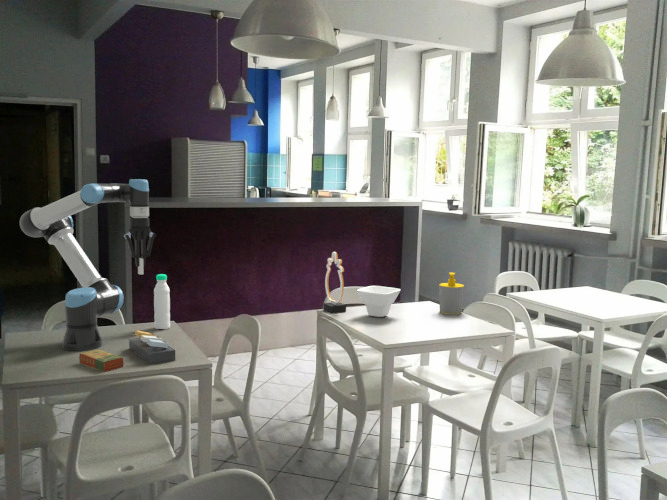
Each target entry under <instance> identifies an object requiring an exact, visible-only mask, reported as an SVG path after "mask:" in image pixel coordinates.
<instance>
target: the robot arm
mask: <svg viewBox="0 0 667 500" xmlns="http://www.w3.org/2000/svg"><path fill="white" fill-rule="evenodd" d="M149 193H150V188H149V181H148V179H141V178H138V179H137V178H135V179H133V178H130V179H129V180H128V183H116V182H115V183H113V182H111V183H94V182H93V183H87V184H85V185H83V187H82V188H81V189H80V190H78V191H77V192H74V193H72V194H70V195H67V196H64V197H63V198H60V199H59V200H56V201H54V202H51V203H49V204H47V205H45V206H42V207H33V208H31V209H29V210H27V211H25V212H24V213H23V214H22V215H21V216H20V218H19V227H20V229H21V231H22V232H23V233H24V234H25V235H26V236H28V237H31V238H44V239H45V241H47V243H48V244H49V245H50V246H51V245H52V246H54V247H55V248H56V250H57V251H58V252H59V255H60V256H61V257H62V258H63V260H64V262H65V263H66V265H67V266H68V267H69V269H70V271H71V272H72V274H73V275H74V277H75V278H76V279H77V282H79V285H80V286H81V287H78V288H74V289H71V290H69V291H68V292H67V293H65V301H64V305H65V323H66V325H65V326H66V328H65V332H64V335H63V339H62V342H61V345H62V349H63V350H64V351H70V352H72V351H73V352H81V351H82V352H83V351H92V350H96V349H98V348H100V347H102V346H103V339H102V336H101V335H102V334H101V333H100V330H99V327H98V318H99V317H102V316H105V315H106V316H107V315H110V314H111V315H112V314H113V313H115V312H118V311H119V310H120V309H121V308H122V306H123V304H124V298H125V297H124V293H123V291H122V288H121V287H119V286H118V285H115V284H111V282H110V281H109V279H108V278H104V277H102V275H101V274H100V273H99V271H98V270H97V269H96V267H95V266H94V265H93V262H92V261H91V260H90V259H89V256H88V255H87V254H86V253H85V251H84V250H83V248H82V246H81V245H80V243H79V242H78V241H77V239H76V238H75V236H74V235H73V234H74V220H73V218H72V215H73V216H74V215H76V214H78V213H80V212H82V211H84V210H87V209H88V208H91V207H94V206H96V205H98V204H102V203H103V204H105V203H106V204H107V203H129V217H130V218H129V226H130V228H129V230H128V232H126V233H124V234H123V238H124V239H125V241H126V244H127V247H128V251H129V255H130V257H131V258H134V259H135V260H134V261H135V267H137V274H138V275H144V274H145V273H144V267H146V266H147V263H146V259H147V258H149V257H151V253H152V249H153V244H154V241H155V238H156V237H157V234H156V233H154V232H152V231H151V228H150V218H149V217H150V205H149V203H150V201H149V199H150V196H149V195H150V194H149ZM148 236H149V238H148ZM131 238H133V240H134V241H133V242H134V246H133V242H132V239H131ZM147 238H148V241H147ZM146 241H147V242H146ZM146 244H147V245H146ZM146 246H147V247H146Z"/></svg>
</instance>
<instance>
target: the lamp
mask: <svg viewBox="0 0 667 500" xmlns="http://www.w3.org/2000/svg"><path fill="white" fill-rule="evenodd" d="M333 262H334V265H335V267H336V268H338V269H337V274H338V277H339V282H340V283H339V285H340V287H339V294H338V299H337V300H335V299H332V296H331V293H330V289H329V288H330V287H329V278H330V277H329V276H330V273H331V272H332V271H331V270H332V268H331V266H332V265H333ZM342 264H343V259H341V258H339V257H338V253H337V252H336V251H332V252H331V257H328V258H327V263H326V266H325V267H326V270H327V271H326V273H325V279H324V286H325V287H324V288H325V294H326V297H327V300H328V301H329V302H323V304H322V305H323V307H322V308H323V309H322V310H323V311H325V312H327V313H329V314H337V313H346V312H347V304H345V303H342V302H341V301H342V298H343V296H344V289H345V286H344V285H345V283H344V276H343V273H344V272H345V268H344V267H343V266H342Z"/></svg>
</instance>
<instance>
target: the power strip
mask: <svg viewBox="0 0 667 500" xmlns="http://www.w3.org/2000/svg"><path fill="white" fill-rule="evenodd" d="M128 341H129V342H128V345H129V348H128V349H129V350H130V351H131V352H132V353H135V354H136V355H137V356H138V357H139V358H141V359H142V360H143V361H144V362H146V363H147V364H148V365H154V364H160V363H167V362H173V361H174V362H175V361H176V349H175V348H173V347H171V346H170V345H168V348H163V347H155V346H150V345H148V344H147V342H143V341H142V340H141V337H136V338H135V337H134V338H129V339H128Z"/></svg>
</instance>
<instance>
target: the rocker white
mask: <svg viewBox="0 0 667 500" xmlns="http://www.w3.org/2000/svg"><path fill="white" fill-rule="evenodd" d="M140 338H141V340H142V341H143V342H147V340H148V339H152V340H160V341H163V338H162V337H160V336H158V335H156V336H146V335H141V337H140Z"/></svg>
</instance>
